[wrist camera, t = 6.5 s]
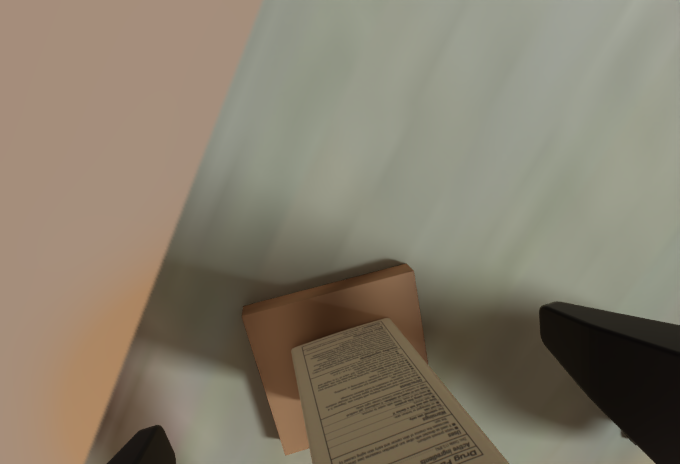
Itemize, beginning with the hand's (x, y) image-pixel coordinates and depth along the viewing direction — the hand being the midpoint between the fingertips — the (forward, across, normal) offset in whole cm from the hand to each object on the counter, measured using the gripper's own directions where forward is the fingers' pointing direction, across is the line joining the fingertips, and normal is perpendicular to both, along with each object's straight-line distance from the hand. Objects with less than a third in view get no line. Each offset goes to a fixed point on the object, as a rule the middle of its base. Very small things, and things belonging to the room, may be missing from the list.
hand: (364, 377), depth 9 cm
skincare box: (+12, 0, +8) cm, 15 cm away
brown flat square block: (+14, 0, +9) cm, 16 cm away
